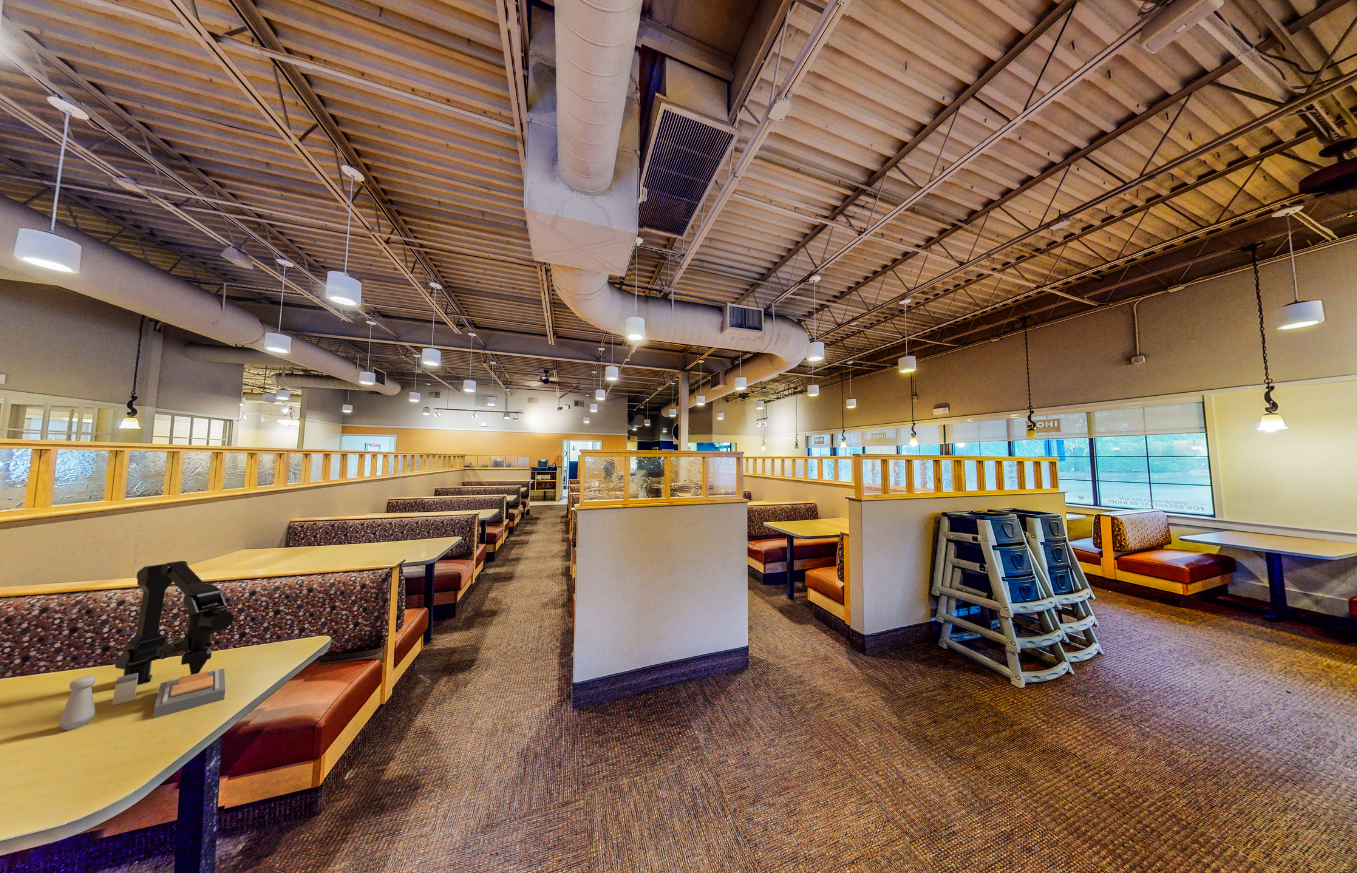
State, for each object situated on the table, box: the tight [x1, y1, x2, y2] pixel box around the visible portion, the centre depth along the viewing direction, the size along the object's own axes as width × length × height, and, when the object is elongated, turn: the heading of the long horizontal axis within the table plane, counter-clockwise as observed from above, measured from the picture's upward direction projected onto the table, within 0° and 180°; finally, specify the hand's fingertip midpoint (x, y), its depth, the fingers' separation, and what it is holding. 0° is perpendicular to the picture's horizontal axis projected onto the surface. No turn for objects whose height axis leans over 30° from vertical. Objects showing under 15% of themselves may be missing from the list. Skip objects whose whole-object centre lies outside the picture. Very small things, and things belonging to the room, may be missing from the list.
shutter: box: [170, 670, 213, 697], centre depth 131 cm, size 9×9×3 cm
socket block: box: [152, 668, 226, 719], centre depth 132 cm, size 22×14×4 cm, turn 49°
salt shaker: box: [58, 675, 97, 731], centre depth 116 cm, size 6×6×13 cm
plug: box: [112, 673, 139, 706], centre depth 129 cm, size 4×4×7 cm
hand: (194, 677), depth 134 cm, fingers closed
